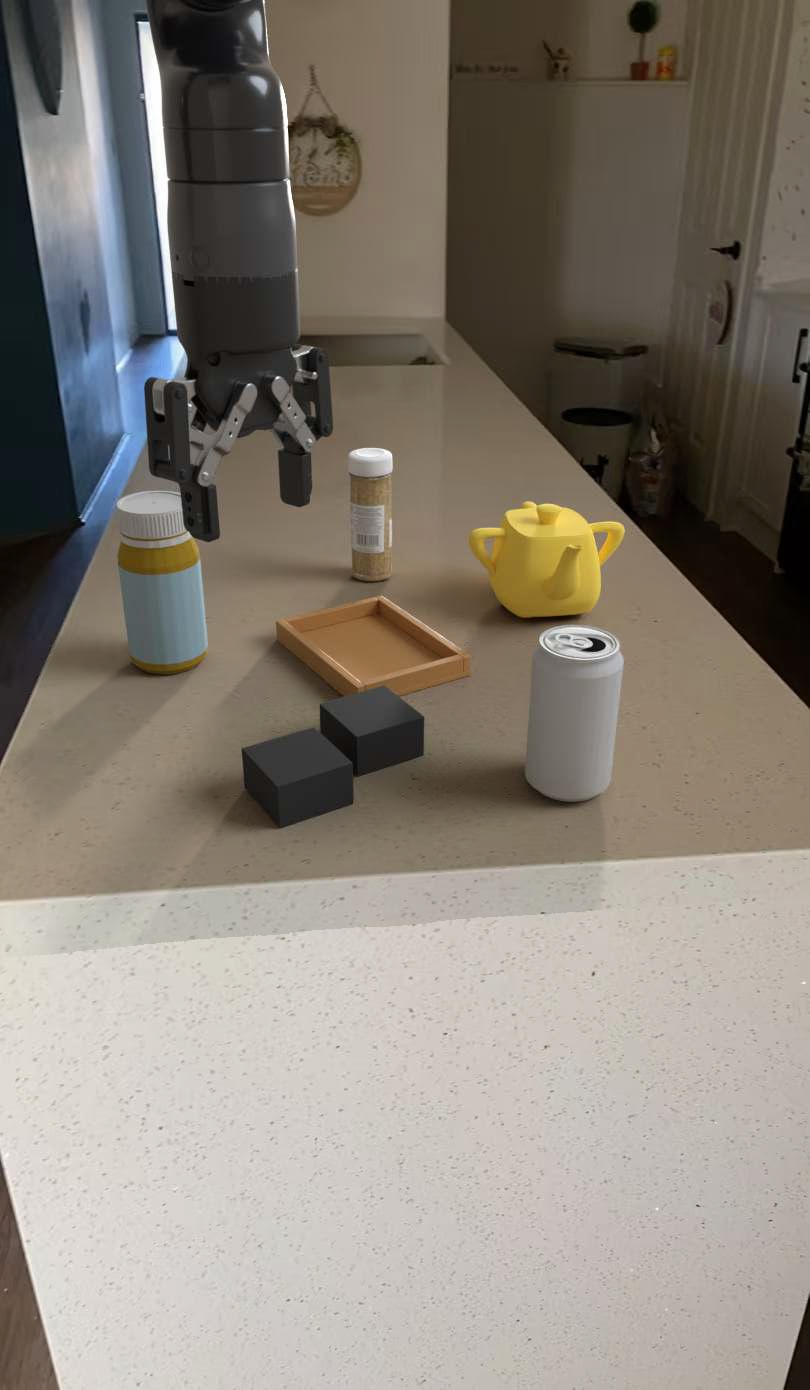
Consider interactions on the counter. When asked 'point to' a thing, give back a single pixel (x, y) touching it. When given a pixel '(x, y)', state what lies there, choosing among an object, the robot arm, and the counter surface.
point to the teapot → (545, 559)
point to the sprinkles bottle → (370, 513)
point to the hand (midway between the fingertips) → (251, 520)
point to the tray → (372, 648)
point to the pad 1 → (297, 776)
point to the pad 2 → (373, 729)
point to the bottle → (160, 584)
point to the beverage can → (573, 712)
